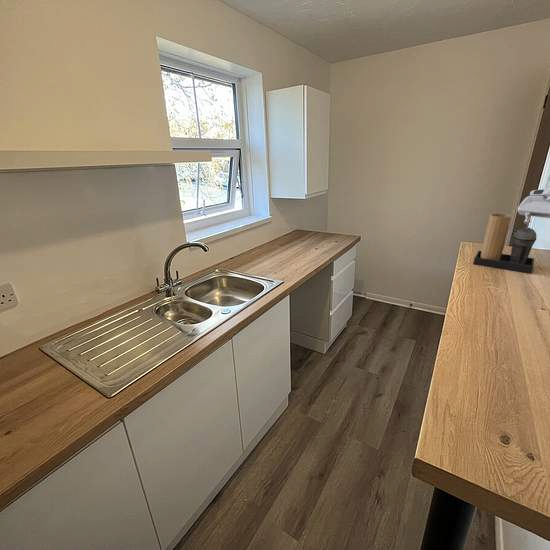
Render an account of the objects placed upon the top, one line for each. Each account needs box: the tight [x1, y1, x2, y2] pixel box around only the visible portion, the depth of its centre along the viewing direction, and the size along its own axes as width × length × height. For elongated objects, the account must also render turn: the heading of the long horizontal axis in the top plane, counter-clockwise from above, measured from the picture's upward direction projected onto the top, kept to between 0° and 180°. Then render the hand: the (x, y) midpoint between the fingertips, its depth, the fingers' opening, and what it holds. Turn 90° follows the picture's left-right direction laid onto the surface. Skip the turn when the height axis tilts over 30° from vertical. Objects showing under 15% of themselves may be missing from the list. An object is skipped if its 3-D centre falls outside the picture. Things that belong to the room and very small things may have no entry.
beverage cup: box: [510, 216, 537, 265], centre depth 117 cm, size 7×7×20 cm
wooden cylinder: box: [480, 213, 513, 261], centre depth 123 cm, size 7×7×20 cm
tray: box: [473, 250, 535, 275], centre depth 123 cm, size 19×11×3 cm, turn 51°
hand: (540, 225), depth 121 cm, fingers open, 8 cm apart
